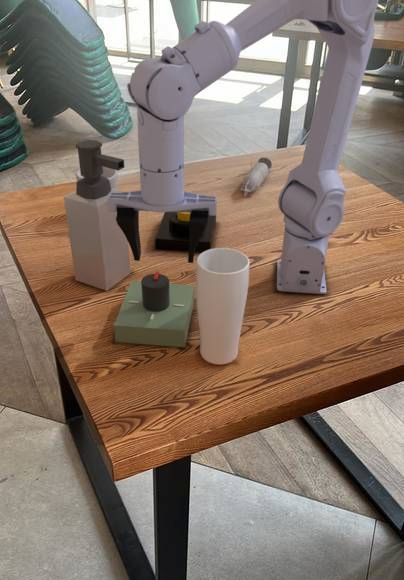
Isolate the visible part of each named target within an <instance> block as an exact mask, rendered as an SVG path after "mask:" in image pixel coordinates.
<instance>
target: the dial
mask: <svg viewBox="0 0 404 580" xmlns="http://www.w3.org/2000/svg"><path fill="white" fill-rule="evenodd" d="M140 282H141V285H142V302H143V307H144V308H145V309H147V310H149V311H162V310H165V309H166V308H168V307H169V305H170V294H169V284H170V278H169V277H168V276H167V275H165V274H163V273H160V271H155V272H154V273H149V274H147V275H145V276H143V277H142V278H141V281H140Z"/></svg>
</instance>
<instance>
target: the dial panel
mask: <svg viewBox="0 0 404 580" xmlns="http://www.w3.org/2000/svg"><path fill="white" fill-rule="evenodd" d="M169 294H170V305H169V307H168V308H166V309H165V310H162V311H149V310H147V309H145V308H144V307H143V302H142V285H141V281H138V280H131V281H130V283H129V285H128V288H127V291H126V292H125V296H124V298H123V301H122V304H121V306H120V308H119V311H118V314H117V316H116V318H115V321H114V324H113V329H114V338H115V343H124V344H135V345H137V344H138V345H149V346H162V347H173V348H174V347H175V348H185V347H186V343H187V338H188V332H189V329H190V323H191V320H192V319H191V318H192V314H193V310H194V304H195V284H181V283H169Z"/></svg>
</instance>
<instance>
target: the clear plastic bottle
mask: <svg viewBox="0 0 404 580" xmlns="http://www.w3.org/2000/svg"><path fill="white" fill-rule="evenodd" d="M272 166H273V161H272V159H271V158H269V157H268V156H267V157H266V156H263V157H260V158H259V159H258V161H257V162H256V163H255V164H254V165H253V162H250V170H249V171H248V173H246V175H245V177H243V180H242V182H239V185H241V188H240V191H243V192H244V195H243V196H244V197H246V196H247V195H248V194H249V193H251V194H252V193H254V192H256V191H257V190H258V189H259V188H261V184H262V183H263V181H264V180H265V179H266V177H267V176H268V175H269V173H270V172H271V170H272V168H273V167H272Z"/></svg>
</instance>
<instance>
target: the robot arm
mask: <svg viewBox="0 0 404 580" xmlns="http://www.w3.org/2000/svg"><path fill="white" fill-rule="evenodd" d="M378 5H379V0H256V1H254V2H253V3H252V4H250V5H249V6H248V7H246V8H245V9H243V10H242V11H241V12H240V13H239V14H237V15H236V16H234V17H233V18H232V19H231V20H229V21H228V22H227V23H226V24H224V23H222V22H220V21H217V20H211V21H209V22H207V21H204V20H200V21H199V22H198V23H197V24H195V25H194V27H193V28H194V30H195V32H193V33H191V34H190V35H189V36H187V37H186V38H184V39H183V40H181V41H180V42H178V43H177V44H176V45H174V46H172V47H170V46H165V47H164V48H163V49H161V56H160V58H159V57H154V58H153V57H148V58H145V59H143V60H141V61H140V62H139V63H138V64H137V65H136V66H135V68H134V69H133V70H134V71H133V72H132V73H131V76H130V79H129V83H127V85H126V86H127V87H126V88H127V92H128V95H129V97H130V99H131V101H132V102H134V104H135V105H136V114H137V115H136V116H137V143H138V161H139V162H138V164H139V178H140V179H139V180H140V190H130V191H124V192H110V194H109V196H108V209H109V212H116V211H117V217H116V222H117V224H118V226H119V227H120V228H121V230H122V231H123V233H124V235H125V236H126V238H127V240H128V246H129V247H130V250H131V253H132V256H133V261H136V262H139V261H140V258H141V256H142V244H141V238H140V237H141V236H140V212H155V213H165V212H189V213H190V219H189V252H188V255H187V264H194V259H195V253H196V252H195V250H196V247H197V244H198V241H199V239H200V237H201V235H202V233H203V231H204V230H205V228H206V226H207V223H208V215H211V216H216V217H217V213H218V196H216V195H206V194H201V193H194V192H190V191H185V115H186V114H187V113H188V112H189V110H190V108H191V107H192V104H193V101H194V98H195V97H196V96H197V95H198V94H199V93H201V92H202V91H204V90H205V89H207V88H208V87H210V86H211V85H213V83H214V84H215V82H217V81H218V80H220V79H222V77H224V76H225V75H228V73H230V72H232V71H233V70H234V69H236V67H238V64H239V59H240V55H241V53H242V51H244V50H246V49H247V48H249V47H251V46H252V45H254V44H256V43H258V42H259V41H261V40H262V39H265V38H266V37H268V36H270V35H271V34H272V33H274V32H276V31H277V30H279V29H281V28H283V27H284V26H286V25H288V24H289V23H292V21H294V20H305V21H308V22H309V23H310V24H312V25H313V26H314V27H316V30H318V32H319V34H320V35H321V37H322V39H323V40H324V42H325V43H326V45H327V48H328V51H327V55H326V59H325V63H324V67H323V71H322V75H321V79H320V83H319V89H318V92H317V97H316V100H315V105H314V109H313V112H312V113H313V114H312V118H311V121H310V125H309V131H308V134H307V139H306V144H305V147H304V151H303V156H302V160H301V163H300V164H299V165H297V166H296V167H294V168H292V169H290V170H289V172H288V178H287V180H286V181H285V184H284V186H283V187H282V188H281V191H280V193H279V195H278V200H277V204H278V205H277V206H278V208H279V211H280V213H282V214H283V222H284V230H283V238H282V239H283V240H282V248H281V255H280V256H281V257H280V260H277V261H276V291H278V292H288V293H301V294H315V295H326V294H327V292H328V291H327V283H326V275H325V266H326V257H327V252H328V246H329V241H330V236H332V235H333V234H334V232H335V231H336V230H337V229H338V228H339V227H340V225H341V224H342V221H343V219H344V216H345V205H344V202H345V196H346V194H347V193H346V192H347V190H346V187H345V185H344V182H343V180H342V178H341V176H340V174H339V167H340V165H341V159H342V157H343V152H344V149H345V146H346V142H347V139H348V134H349V130H350V127H351V125H352V120H353V116H354V112H355V108H356V105H357V102H358V98H359V94H360V91H361V87H362V83H363V79H364V77H365V72H366V70H367V65H368V62H369V58H370V54H371V51H372V46H373V44H374V38H375V16H376V12H377V9H378Z"/></svg>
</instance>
